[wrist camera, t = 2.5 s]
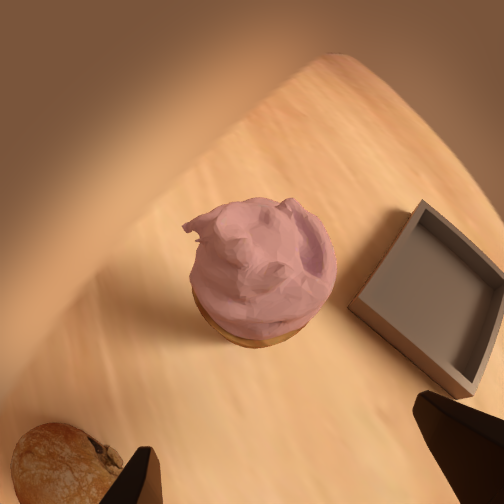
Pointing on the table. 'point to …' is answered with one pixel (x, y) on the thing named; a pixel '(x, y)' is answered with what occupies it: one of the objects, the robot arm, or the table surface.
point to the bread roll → (62, 466)
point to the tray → (436, 301)
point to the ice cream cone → (261, 269)
